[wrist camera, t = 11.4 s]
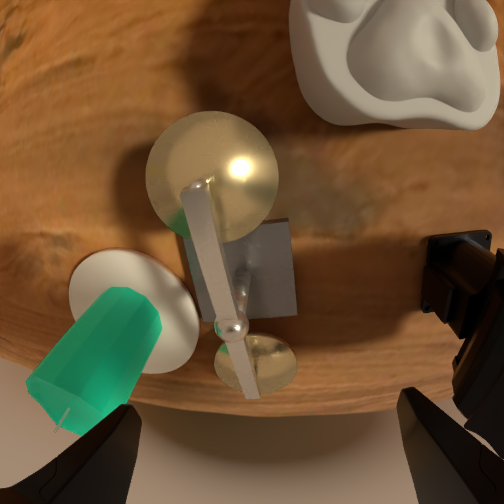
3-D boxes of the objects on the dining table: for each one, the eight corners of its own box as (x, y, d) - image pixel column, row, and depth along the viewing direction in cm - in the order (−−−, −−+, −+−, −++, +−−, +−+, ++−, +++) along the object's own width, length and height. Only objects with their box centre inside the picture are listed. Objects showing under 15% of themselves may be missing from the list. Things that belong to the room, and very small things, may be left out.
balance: (274, 110, 17) (275, 89, 9) (301, 374, 24) (306, 452, 17) (166, 129, 18) (98, 130, 10) (223, 378, 25) (207, 454, 17)
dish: (180, 238, 20) (175, 243, 19) (214, 367, 25) (212, 375, 24) (57, 255, 22) (51, 260, 21) (103, 363, 26) (99, 369, 25)
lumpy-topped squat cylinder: (298, 126, 17) (320, 116, 9) (278, -39, 12) (278, -114, 4) (442, 132, 16) (526, 141, 8) (415, -23, 11) (468, -70, 3)
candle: (95, 277, 21) (-1, 376, 10) (164, 297, 21) (90, 427, 10) (100, 335, 23) (31, 434, 12) (161, 355, 23) (109, 473, 12)
